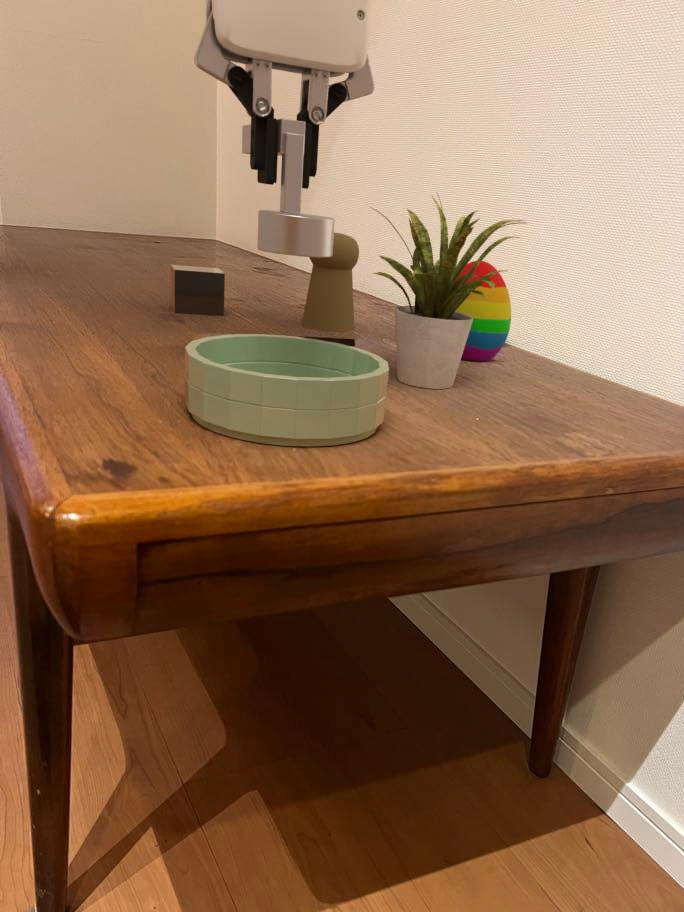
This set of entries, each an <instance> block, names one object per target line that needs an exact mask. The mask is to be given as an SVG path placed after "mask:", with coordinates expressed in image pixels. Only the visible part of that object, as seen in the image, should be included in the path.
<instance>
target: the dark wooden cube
mask: <svg viewBox="0 0 684 912" xmlns="http://www.w3.org/2000/svg"><path fill="white" fill-rule="evenodd" d="M169 266H170V269H169V270H170V272H169V274H170V277H169V278H170V308H171V309H172V311H173V313H174V314H181V315H198V316H214V317H224V316H225V289H226V288H225V287H226V286H225V285H226V283H225V282H226V281H225V280H226V274H225V272H224V271H222V270H221V269H220V268H218V267H207V266H194V265H181V264H180V265H179V264H170V265H169Z"/></svg>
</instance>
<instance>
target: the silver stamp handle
mask: <svg viewBox="0 0 684 912" xmlns="http://www.w3.org/2000/svg"><path fill="white" fill-rule="evenodd" d="M276 121H278V146H277V152H278V156H280V157H281V167H280V168H281V169H280V170H281V172H280V173H281V174H280V197H279V199H280V200H279V210H270V209H269V210H268V209H260V210H259V209H258V213H257V214H258V215H257V219H258V220H257V248H256V249H257V250H259V251H262V252H265V253H269V254H270V253H271V254H277V255H284V256H292V257H303V258H309V257H317V258H328V257H332V254H333V239H334V233H335V221H336V220H335V218H333V217H329V216H325V215H324V216H322V215H317V214H308V213H302V195H303V188H302V175H303V155H304V144H305V122H303V121H297V119H290V118H289V119H288V118H276ZM241 131H242V132H241V134H242V135H241V154H246V155H250V142H251V123H250V124H243V125H242V129H241Z"/></svg>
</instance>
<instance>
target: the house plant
mask: <svg viewBox="0 0 684 912" xmlns="http://www.w3.org/2000/svg"><path fill="white" fill-rule="evenodd" d="M436 195H437V197H438V200H439V203H440V204H439V203H438V201H437V199H435V197H434V196H433V194H432V193H431V198H432V199H433V202H434V204H435V206H436V209H437V211H438V214H439V221H440V222H439V223H440V224H439V226H440V244H439V259H438V260H436V261H435V263H434V254H433V247H432V243H431V238H430V234H429V232H428V231H429V230H428V229H427V228H426V226H425V225H424V223H423V222H422V221H421V220H420V218H419V216H418V215H417V214H416V213H415V212H414V211H411V210H410V209H408V208H406V210H407V213H408V215H409V218H408V222H409V227H410V233H411V237H412V241H413V243H414V246H415V248H414V251H413V253H411V251H410V248H409V247H408V245H407V243H406V242H405V239H404V238H403V236H402V235H401V234H400V233H399V231H398V230H397V228H396V227H395V226H394V224H393V223H392V222H391V220H389V219H388V217H386V215H384V214H383V213H382V212H381V211H379V210H377V209H375V208H373V207H371V206H368V204H367V205H366V206H367V207H368V208H371V209H372V210H373V211H376V212H377V213H378V214H380V215H381V216H382V217H384V218H385V219H386V220H387V222H388V223H389V224H390V225H391V226H392V227H393V229H394V230H395V232H396V234H398V236H399V237H400V239H401V240H402V242H403V244H404V245H405V247H406V249H407V250H408V253H409V255H410V257H411V261H412V262H411V264H410V265H409V267H410V269H411V270H410V269H409V268H408V267H406V265H404V264H402V263H400V262H399V261H397V260H396V259H395V260H394V259H393V258H391V257H388V256H384V255H383V256H382V255H379V258H380V259H381V260H384V261H385V262H387V263H388V264H389V266H391V268H392V269H394V270H395V271H396V272H397V273H398V274H400V275H401V276H402V277H403V278H404V280H405V281H406V283H407V285H408V286H409V288H410V290H411V291H412V292H413V295H414V305H412V304H411V300H410V297H409V295H408V293H407V290H405V288H404V286H403V285H402V284H401V283H400V282H399V281H398V280H397V279H396V278H395V277H394V276H392V275H391V274H388V273H386V272H381V271H378V272H373V273H371V274H370V276H372V275H376V276H377V275H378V276H380V277H381V276H382V277H384V278H386V279H389V280H390V281H392V282H393V283H394V284H395V285H397V287H399V289H400V290H401V291H402V292H403V294H404V296H405V297H406V300H407V302H408V305H398V306H396V307H394V325H395V326H394V327H395V346H396V347H395V351H396V370H397V371H396V373H397V375H396V376H397V381H399V382H400V383H403V384H404V385H408V386H412V387H416V388H425V389H432V390H445V389H450V388H453V386H454V384H455V380H456V377H457V373H458V370H459V367H460V364H461V360H462V359H461V357H462V354H463V351H464V347H465V344H466V341H467V338H468V334H469V331H470V328H471V325H472V321H473V317H472V316H470V315H467V314H464V313H461V312H457V311H456V309H457V308H458V307H459V306H460V305H461V304H462V303H463V302H464V301H465V299H466V298H467V297H468V296H469V295H470V294H471V293H474V294H478V295H480V296H482V297H484V295H483V293H482V292H480V291H475V289H476V288H477V287H478V286H479V285H481V284H482V283H483V282H487V283H488V284H489V285H490V287H492V288H493V291H494V287H495V283H494V282H492V281H490V279H489V278H490V277H491V276H493V275H495V274H496V273H498V272H499V273H502V272H507V270H503V269H501V270H497V271H494V272H491V273H489V274H487V275H485V276H477V275H474V274H472V273H473V271H474V270H475V269H476V267H477V266H478V265H479V263H480V262H481V261H484V259H485V258H486V257H487V256H488V255H489V253H490V252H492V250H493V249H495V248H496V247H497V246H499V245H500V244H501V243H503V242H505V241H507V240H510V239H522V237H520V236H504V237H501V238H499V239H497V240H496V241H494V242H493V243H491V244H490V245H489V246H488V247H487V248H486V249H485V250H484V251H483V252H482V253H481V255H479V257H478V258H477V260H475V261H476V263H475V264H474V265H473V267H472V268H471V269H470V270H469V272H468V273H467V274H465V275H463V276H462V277H460V278H459V279H458V280H457V278H458V276H459V275H460V273H461V272H462V270H463V269H464V268H465V266H466V265H467V264H468V263H470V261H471V259H472V258H473V257H474V256H475V254H476V253H477V252H478V251H479V250H480V249H481V248H482V247H483V245H484V244H485V243H486V242H487V240H488V239H489V238H490V237H491V236H492V235H493V234H494V233H495V232H496V231H498V230H499V229H501V228H504V227H506V226H509V225H515V224H516V225H517V224H519V225H521V224H526V220H524V219H505V220H500V221H499V222H495V223H493V224H491V225H489V226H488V227H487V228H485V229H484V230H482V232H481V233H479V234H478V235H477V236H476V237H475V239H473V241H472V242H471V244H470V245H469V246H468V248H467V250H466V251H465V252H464V254H463V255H462V256H461V258H460V260H458V259H459V256H460V253H461V250H462V249H463V247H464V245H465V244H466V241H467V238H468V236H469V235H470V234H471V233H472V232H473V230H474V227H475V226H474V225H475V224H476V223H478V221H479V220H480V219H481V218H480V217H479V218H477V219H476V220H474V221H472V222H471V220H472V218H473V216H474V215H475V213H477V212H478V210H475V211H472V212H470V213H468V214H467V216H466V215H465V216H462V217H460V218H459V220H457V223H456V226H455V228H454V230H453V233H452V236H451V238H450V241H449V230H448V228H449V227H448V224H447V218H446V216H445V214H444V212H443V206H442V201H441V198H440V196H439V194H438V193H436ZM473 277H480V278H481V279H480V280H473V281H470V282H468V283H466V282H467V281H468V280H469V279H471V278H473ZM456 280H457V281H456ZM455 281H456V282H455ZM465 283H466V284H465ZM468 289H469V290H468ZM467 290H468V291H467ZM484 299H485V297H484ZM485 300H486V299H485Z"/></svg>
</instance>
